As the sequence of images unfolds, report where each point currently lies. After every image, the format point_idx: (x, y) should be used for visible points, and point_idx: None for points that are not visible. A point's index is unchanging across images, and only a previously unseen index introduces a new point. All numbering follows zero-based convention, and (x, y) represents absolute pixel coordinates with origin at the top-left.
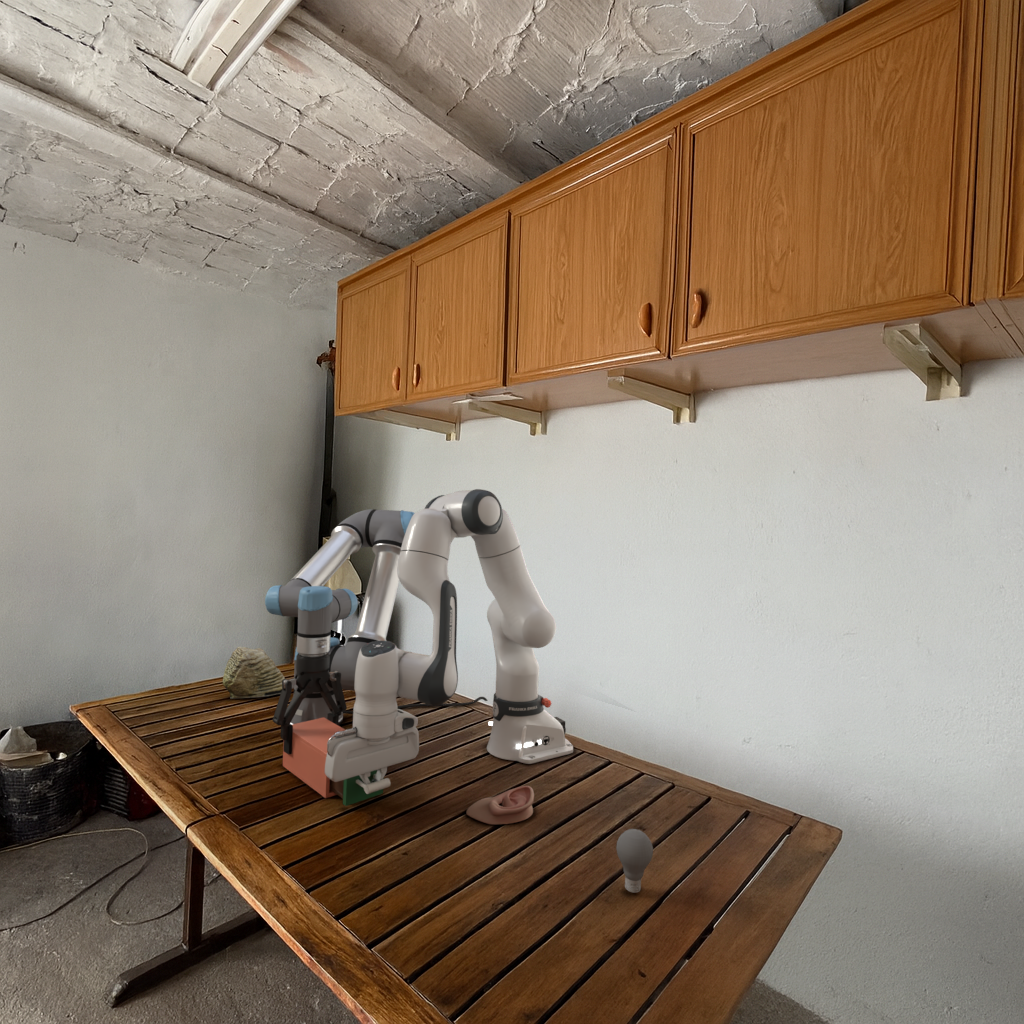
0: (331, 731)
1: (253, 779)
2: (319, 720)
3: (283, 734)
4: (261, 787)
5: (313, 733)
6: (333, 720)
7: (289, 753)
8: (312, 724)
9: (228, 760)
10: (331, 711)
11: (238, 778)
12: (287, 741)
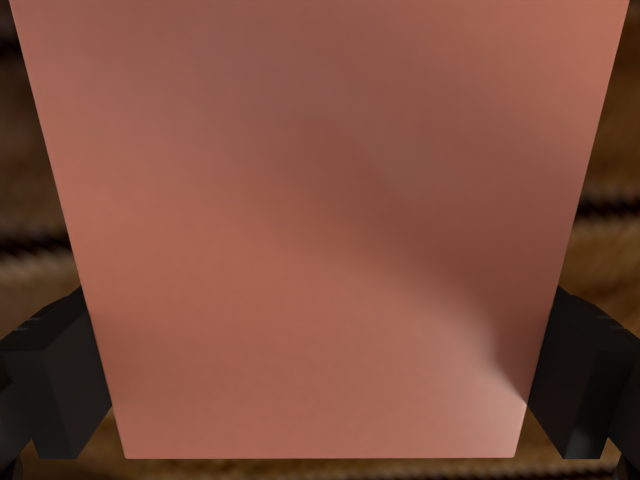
0: (204, 45)
1: (594, 236)
2: (191, 416)
3: (619, 324)
4: (630, 129)
5: (419, 132)
6: (66, 321)
7: None
8: (291, 370)
9: (543, 447)
10: (14, 460)
11: (628, 284)
12: None
